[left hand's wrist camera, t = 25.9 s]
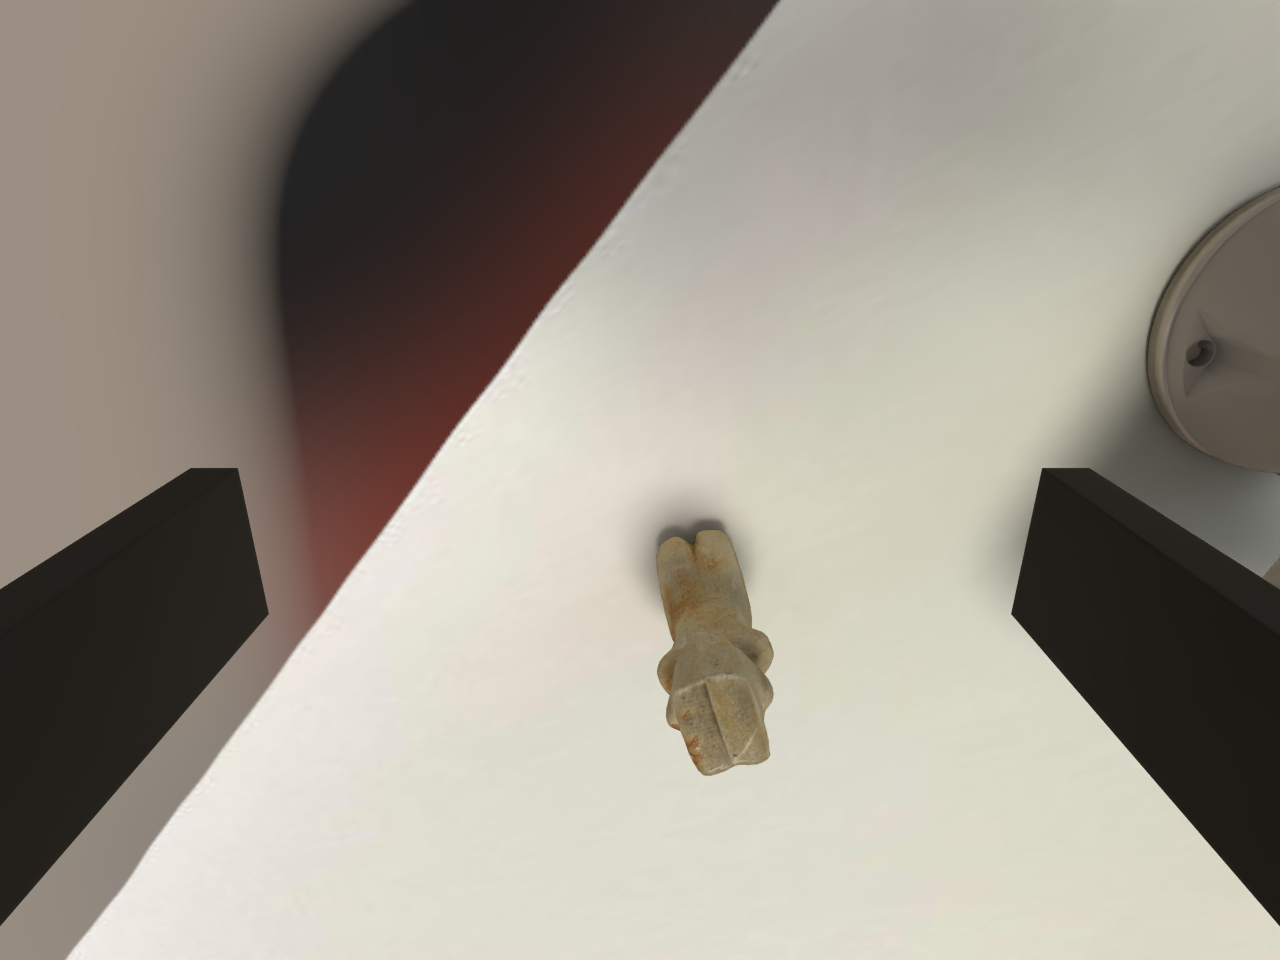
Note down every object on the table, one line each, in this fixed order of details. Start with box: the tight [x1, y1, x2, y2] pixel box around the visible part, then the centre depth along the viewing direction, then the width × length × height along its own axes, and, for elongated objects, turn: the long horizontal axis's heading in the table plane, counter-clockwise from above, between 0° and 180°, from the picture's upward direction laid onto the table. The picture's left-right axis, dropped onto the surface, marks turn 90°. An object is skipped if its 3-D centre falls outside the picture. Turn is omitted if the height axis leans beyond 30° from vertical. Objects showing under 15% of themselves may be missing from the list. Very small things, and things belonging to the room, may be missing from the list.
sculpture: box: [656, 530, 774, 776], centre depth 39 cm, size 6×7×15 cm
